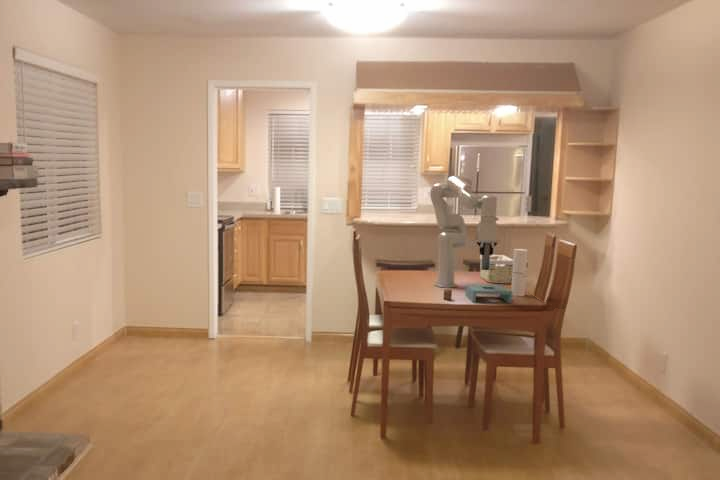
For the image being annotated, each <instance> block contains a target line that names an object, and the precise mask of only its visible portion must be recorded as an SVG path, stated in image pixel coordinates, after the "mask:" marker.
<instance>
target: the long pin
mask: <svg viewBox="0 0 720 480" xmlns="http://www.w3.org/2000/svg"><path fill="white" fill-rule="evenodd" d="M483 248H484V249H483V255H482V267H481V269H482V270H489V265H490V248H491V243H490V242H484V243H483Z"/></svg>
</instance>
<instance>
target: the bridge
mask: <svg viewBox="0 0 720 480" xmlns="http://www.w3.org/2000/svg"><path fill="white" fill-rule="evenodd" d="M479 294H480V295H499V297H500V298H501V299H502V300H503V301H505V302H507V304H512V302H513V301H512V299H513V295H512V291H511V290H510V289H509V288H508V287H506V286H505V285H498V284H470V283H469V284H466V285H465V296H466V297H467V298H468V300H469V301H471V302H472V303H476V302H477V301H476V300H477V295H479Z"/></svg>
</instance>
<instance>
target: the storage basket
mask: <svg viewBox="0 0 720 480" xmlns="http://www.w3.org/2000/svg"><path fill="white" fill-rule="evenodd" d="M479 260H480V266H479V267H480V269H479V271H480V272H479V273H480V274H479V276H480V278H481V277H482V278H481V279H483V280H484V281H486V282H487V283H491V284H492V283H493V284H512V272H513V258H511V257H508V256H506V255H504V254H492V255H490V265H489V270H482V269H481V267H482V255H481V254H480V255H479Z"/></svg>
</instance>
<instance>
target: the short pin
mask: <svg viewBox="0 0 720 480" xmlns="http://www.w3.org/2000/svg"><path fill="white" fill-rule="evenodd" d="M452 292H453V291H452V289H450V288H449V289H448V288H446V289H445V288H444V289H443V300H444V301H452V297H453V296H452V294H453V293H452Z"/></svg>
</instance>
